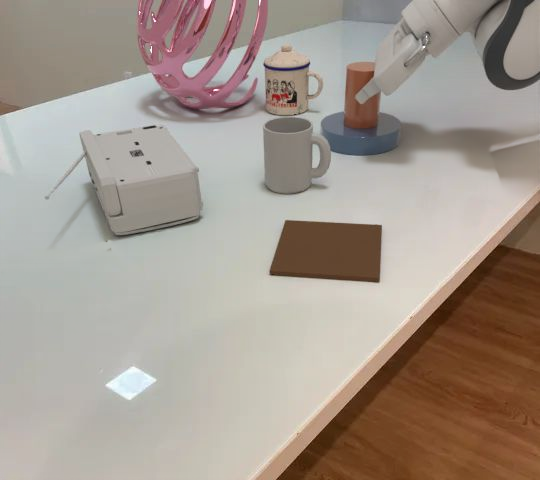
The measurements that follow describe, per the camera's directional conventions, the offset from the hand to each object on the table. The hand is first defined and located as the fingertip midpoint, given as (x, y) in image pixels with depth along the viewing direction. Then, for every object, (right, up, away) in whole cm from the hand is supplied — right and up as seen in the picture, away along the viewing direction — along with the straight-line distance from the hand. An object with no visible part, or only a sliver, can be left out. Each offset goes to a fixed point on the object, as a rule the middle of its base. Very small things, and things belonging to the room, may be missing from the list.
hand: (359, 93), depth 94 cm
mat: (-8, -31, -24) cm, 40 cm away
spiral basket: (-28, +9, +24) cm, 38 cm away
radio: (-28, -16, -12) cm, 34 cm away
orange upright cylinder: (+1, -4, +3) cm, 5 cm away
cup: (-11, -18, -8) cm, 23 cm away
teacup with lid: (-10, +6, +19) cm, 22 cm away
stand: (+1, -6, +5) cm, 8 cm away
